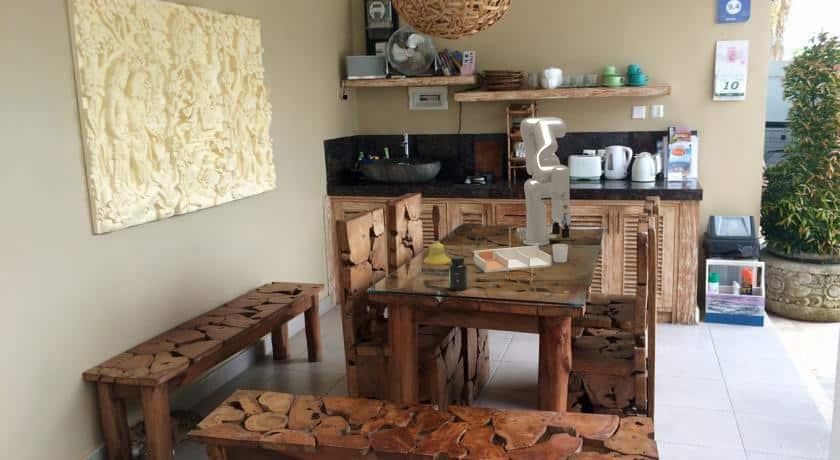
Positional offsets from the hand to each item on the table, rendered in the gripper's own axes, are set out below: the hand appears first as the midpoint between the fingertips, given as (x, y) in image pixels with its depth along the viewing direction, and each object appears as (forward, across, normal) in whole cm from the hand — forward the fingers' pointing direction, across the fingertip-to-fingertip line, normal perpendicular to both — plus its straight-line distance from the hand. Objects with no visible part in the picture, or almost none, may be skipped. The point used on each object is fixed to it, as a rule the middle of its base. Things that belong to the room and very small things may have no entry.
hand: (560, 235), depth 305 cm
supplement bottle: (+12, -26, +53) cm, 61 cm away
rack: (+11, 0, +22) cm, 25 cm away
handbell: (+11, +20, +50) cm, 55 cm away
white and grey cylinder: (+11, +1, 0) cm, 11 cm away
